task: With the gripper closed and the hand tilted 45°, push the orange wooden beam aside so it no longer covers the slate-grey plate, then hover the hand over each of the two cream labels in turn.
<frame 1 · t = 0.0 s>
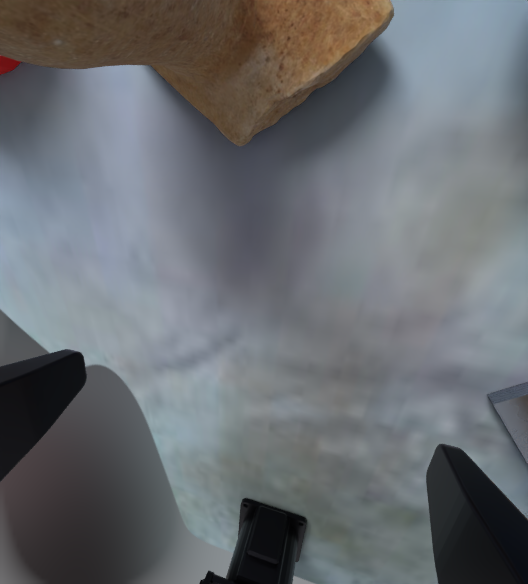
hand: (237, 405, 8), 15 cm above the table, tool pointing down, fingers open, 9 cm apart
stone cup: (220, 26, 18), on the table
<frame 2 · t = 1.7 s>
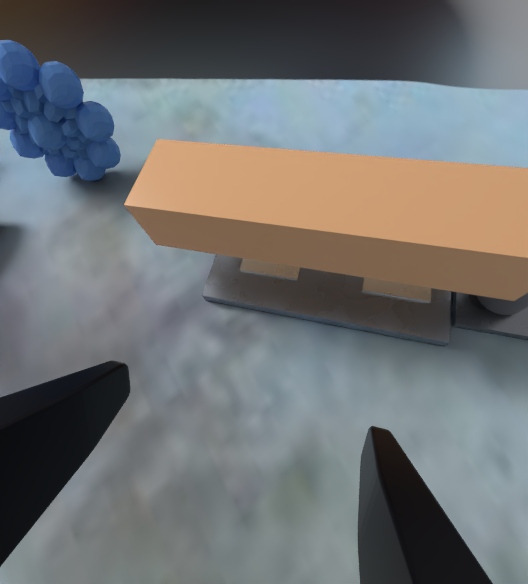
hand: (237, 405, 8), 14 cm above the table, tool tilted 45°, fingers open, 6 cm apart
label plate: (326, 261, 24), on the table
grapes: (101, 172, 32), on the table
grey flat block: (492, 299, 21), on the table
orange wooden beam: (346, 232, 18), point 6 cm above the table, hinge at 0.0°
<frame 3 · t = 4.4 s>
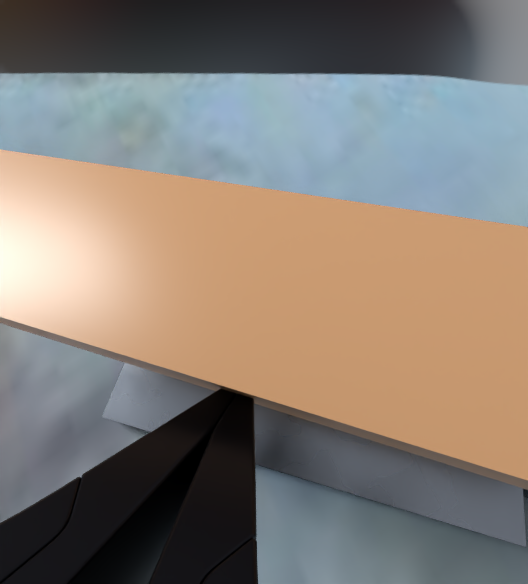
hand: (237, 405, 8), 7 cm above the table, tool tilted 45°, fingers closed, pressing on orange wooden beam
label plate: (307, 356, 15), on the table
orange wooden beam: (336, 339, 10), point 6 cm above the table, hinge at 2.6°, touching gripper
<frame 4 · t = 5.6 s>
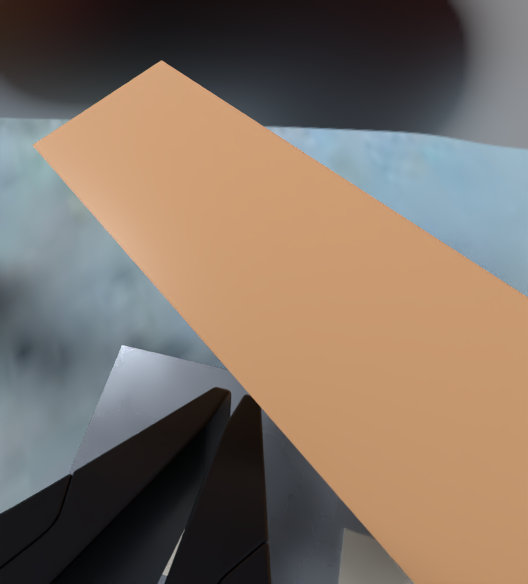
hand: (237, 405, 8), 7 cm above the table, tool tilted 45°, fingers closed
label plate: (269, 513, 13), on the table
orange wooden beam: (382, 394, 9), point 6 cm above the table, hinge at 33.4°, touching gripper
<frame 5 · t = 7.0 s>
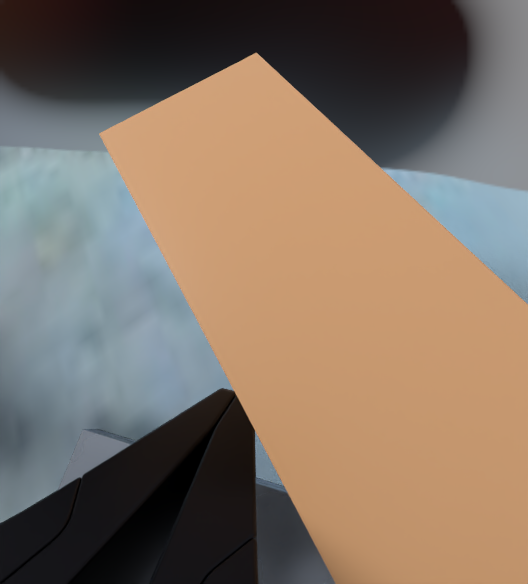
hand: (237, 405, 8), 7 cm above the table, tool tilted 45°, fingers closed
orange wooden beam: (448, 509, 7), point 6 cm above the table, hinge at 45.5°, touching gripper
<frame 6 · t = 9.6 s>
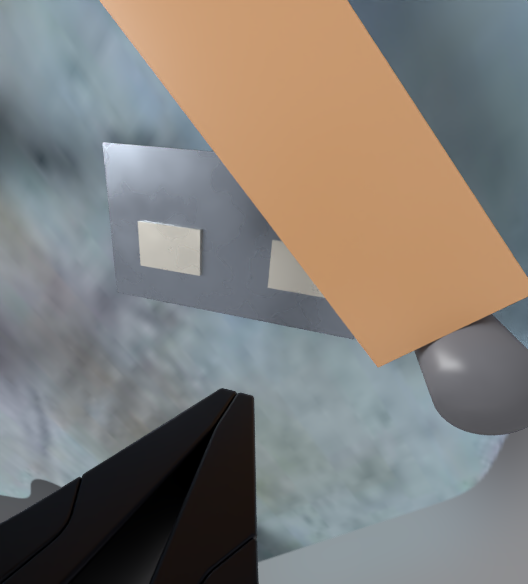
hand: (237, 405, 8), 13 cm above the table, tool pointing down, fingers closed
label plate: (234, 238, 20), on the table
orange wooden beam: (295, 110, 12), point 6 cm above the table, hinge at 45.6°
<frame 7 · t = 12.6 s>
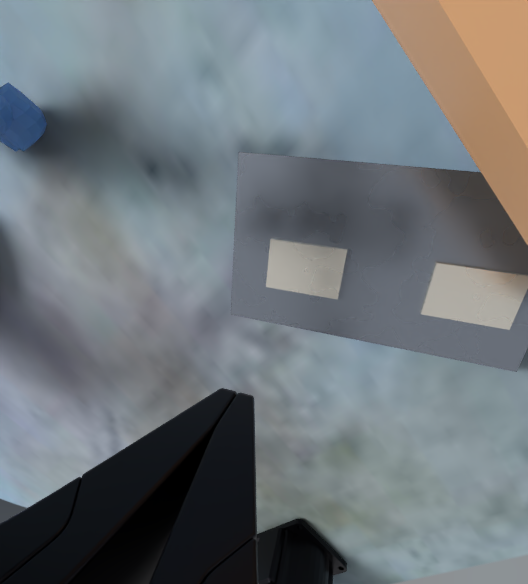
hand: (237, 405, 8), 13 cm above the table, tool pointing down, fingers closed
label plate: (377, 258, 18), on the table
grapes: (28, 110, 21), on the table
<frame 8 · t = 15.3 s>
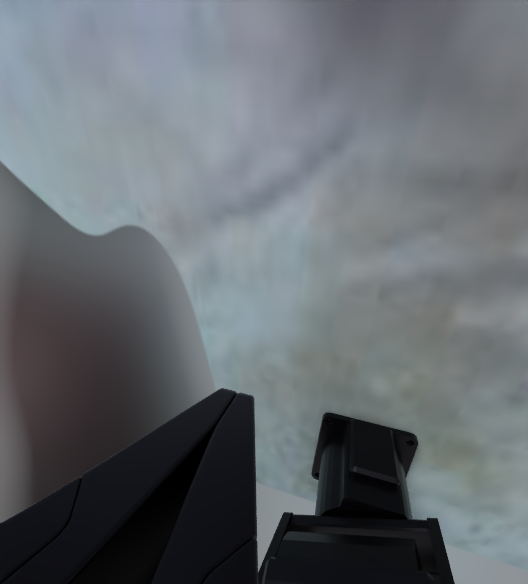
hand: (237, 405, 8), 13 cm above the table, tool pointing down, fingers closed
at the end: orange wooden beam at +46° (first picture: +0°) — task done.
